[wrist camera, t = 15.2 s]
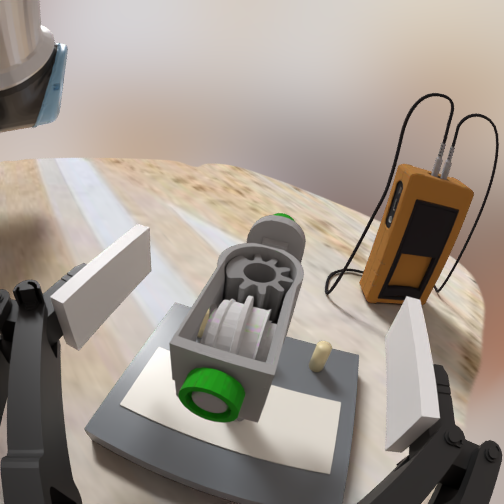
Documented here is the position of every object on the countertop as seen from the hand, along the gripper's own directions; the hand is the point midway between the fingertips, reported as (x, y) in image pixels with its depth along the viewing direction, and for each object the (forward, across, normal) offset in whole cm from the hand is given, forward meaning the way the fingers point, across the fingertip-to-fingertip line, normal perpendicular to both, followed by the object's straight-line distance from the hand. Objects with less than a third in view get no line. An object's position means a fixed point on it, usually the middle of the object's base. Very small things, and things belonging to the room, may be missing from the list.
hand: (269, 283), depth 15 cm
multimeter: (+18, +10, -9) cm, 22 cm away
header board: (-2, 0, -8) cm, 9 cm away
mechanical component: (-3, 0, -7) cm, 8 cm away
